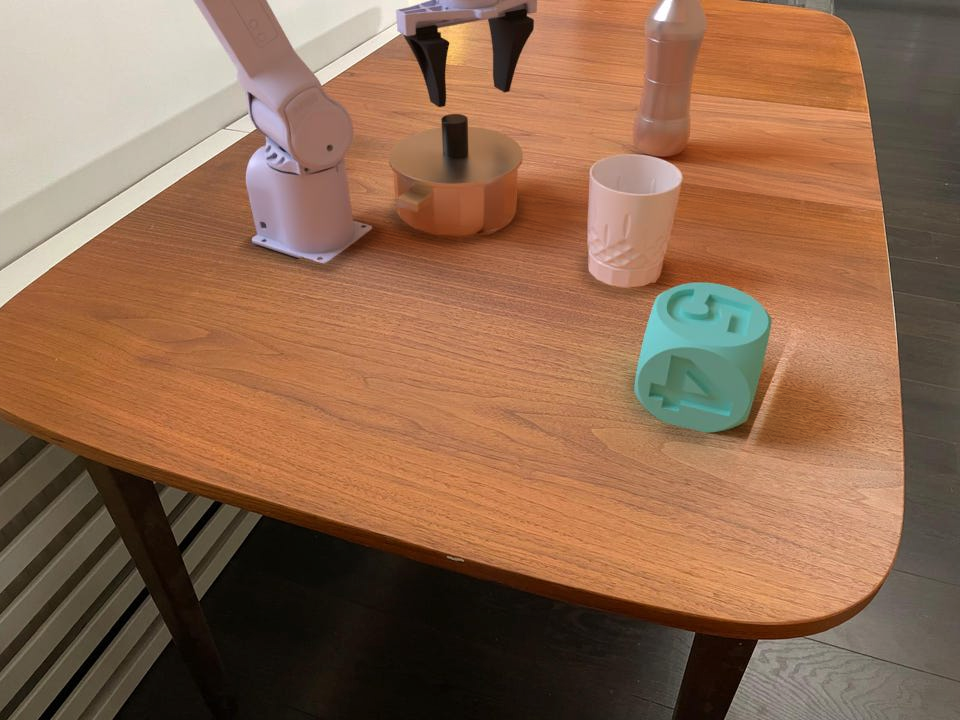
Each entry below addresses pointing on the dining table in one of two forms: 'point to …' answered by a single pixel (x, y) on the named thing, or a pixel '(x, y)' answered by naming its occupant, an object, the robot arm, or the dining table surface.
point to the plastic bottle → (668, 76)
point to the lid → (455, 155)
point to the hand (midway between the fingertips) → (470, 96)
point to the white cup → (630, 217)
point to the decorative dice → (702, 356)
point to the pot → (457, 206)
